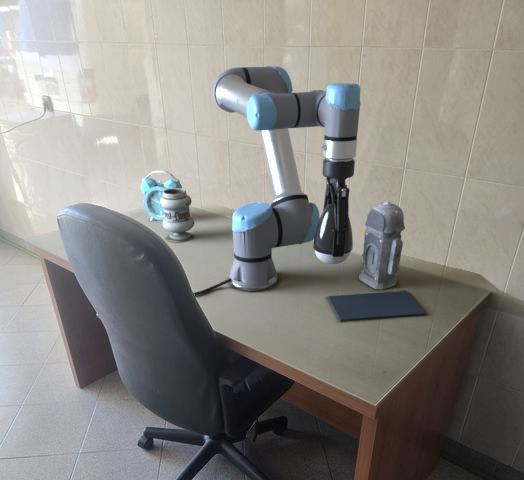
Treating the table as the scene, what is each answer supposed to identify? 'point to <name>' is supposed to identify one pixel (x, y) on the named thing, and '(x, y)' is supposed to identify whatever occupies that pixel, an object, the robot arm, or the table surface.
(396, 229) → the figurine
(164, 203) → the apothecary jar
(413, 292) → the table surface
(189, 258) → the table surface
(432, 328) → the table surface
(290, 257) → the table surface
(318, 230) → the black rounded piece
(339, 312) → the desk mat
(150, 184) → the alarm clock
